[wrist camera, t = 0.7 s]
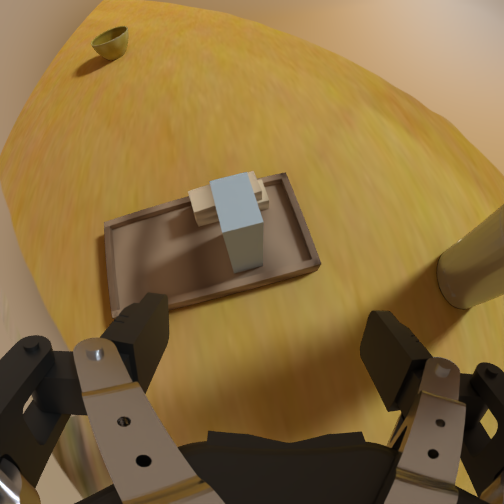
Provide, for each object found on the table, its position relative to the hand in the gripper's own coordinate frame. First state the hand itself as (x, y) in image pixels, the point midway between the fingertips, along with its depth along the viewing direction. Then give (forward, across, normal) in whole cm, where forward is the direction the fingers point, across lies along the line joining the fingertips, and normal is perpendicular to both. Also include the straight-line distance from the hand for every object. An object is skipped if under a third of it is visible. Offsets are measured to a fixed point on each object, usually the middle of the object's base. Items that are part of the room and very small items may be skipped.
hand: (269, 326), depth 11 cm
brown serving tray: (+25, +6, +4) cm, 26 cm away
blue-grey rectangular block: (+24, +2, +4) cm, 24 cm away
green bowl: (+59, +40, -36) cm, 80 cm away
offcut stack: (+27, +4, -1) cm, 27 cm away
